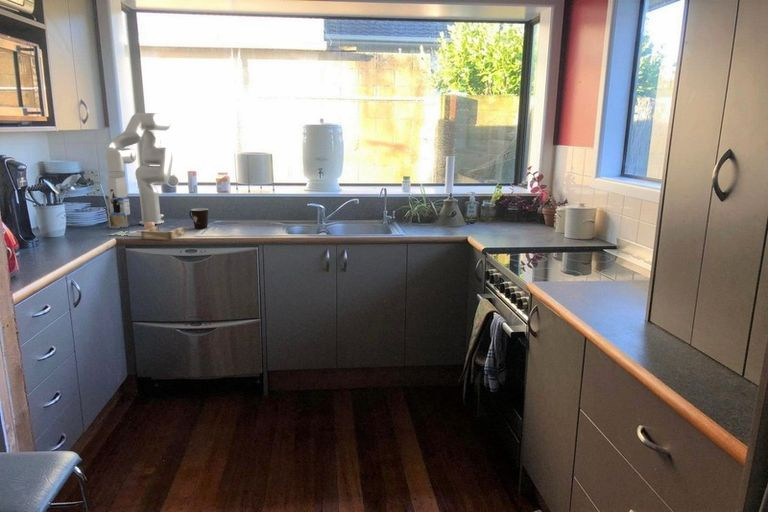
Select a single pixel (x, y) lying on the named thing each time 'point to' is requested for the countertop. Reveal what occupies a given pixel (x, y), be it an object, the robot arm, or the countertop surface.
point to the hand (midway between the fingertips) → (120, 211)
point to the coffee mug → (200, 217)
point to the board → (120, 233)
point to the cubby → (161, 233)
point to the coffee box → (116, 218)
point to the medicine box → (121, 207)
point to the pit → (135, 233)
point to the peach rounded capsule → (149, 225)
